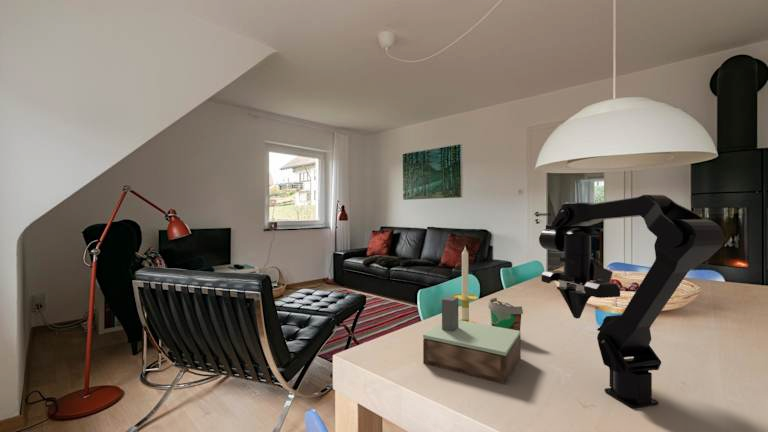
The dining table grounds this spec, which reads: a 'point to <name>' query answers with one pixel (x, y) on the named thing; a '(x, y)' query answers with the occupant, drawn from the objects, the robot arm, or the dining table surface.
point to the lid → (470, 332)
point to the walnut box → (472, 360)
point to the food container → (505, 315)
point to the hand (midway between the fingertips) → (576, 318)
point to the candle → (465, 289)
